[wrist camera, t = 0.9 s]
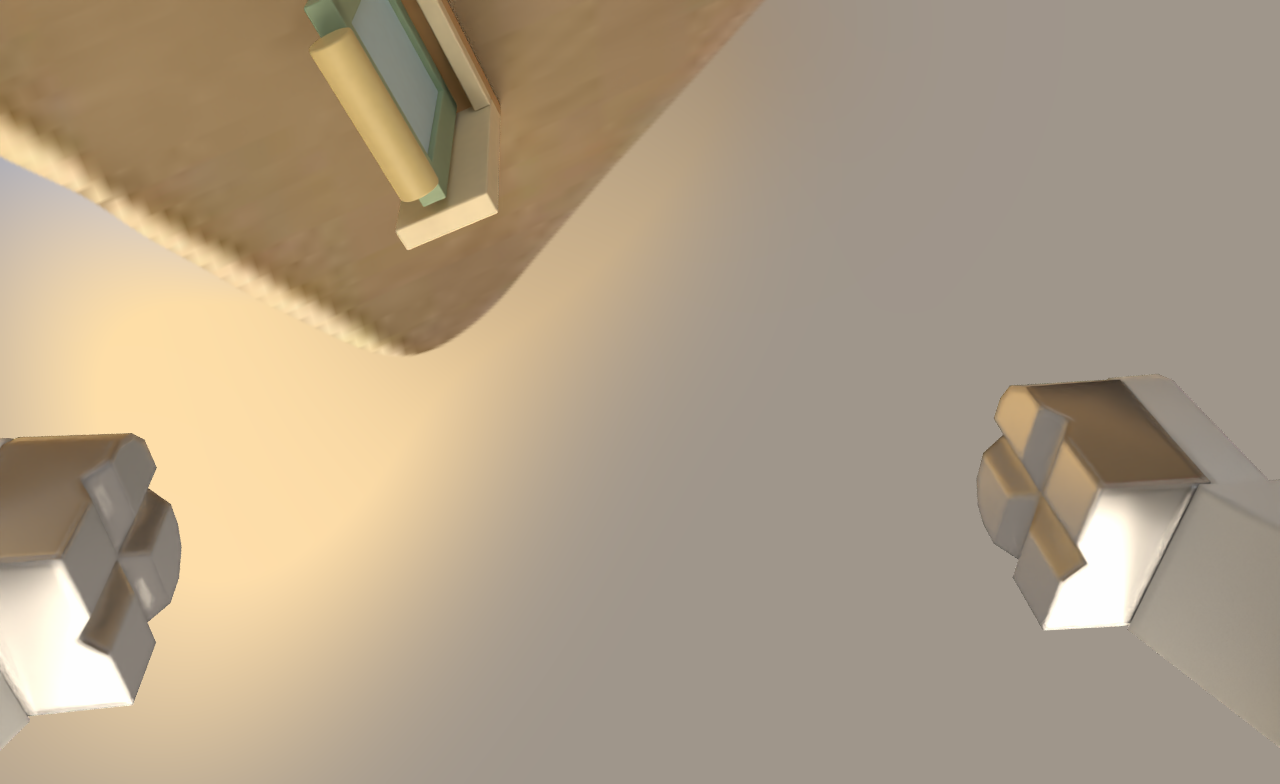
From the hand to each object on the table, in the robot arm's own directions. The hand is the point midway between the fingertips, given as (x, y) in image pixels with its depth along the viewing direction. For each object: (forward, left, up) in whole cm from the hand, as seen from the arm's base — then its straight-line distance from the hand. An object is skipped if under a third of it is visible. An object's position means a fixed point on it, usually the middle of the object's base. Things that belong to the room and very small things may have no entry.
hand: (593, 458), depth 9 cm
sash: (+8, -4, -36) cm, 37 cm away
